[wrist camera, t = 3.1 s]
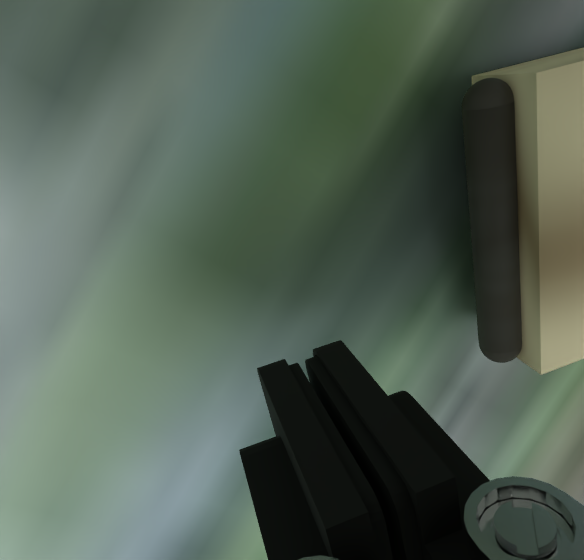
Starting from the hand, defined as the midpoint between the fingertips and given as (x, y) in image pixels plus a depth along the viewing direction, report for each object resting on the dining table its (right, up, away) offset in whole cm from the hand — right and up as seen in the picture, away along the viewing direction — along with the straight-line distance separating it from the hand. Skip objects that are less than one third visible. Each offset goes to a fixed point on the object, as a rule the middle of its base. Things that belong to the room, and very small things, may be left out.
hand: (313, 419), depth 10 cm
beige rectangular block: (+9, +6, +7) cm, 13 cm away
